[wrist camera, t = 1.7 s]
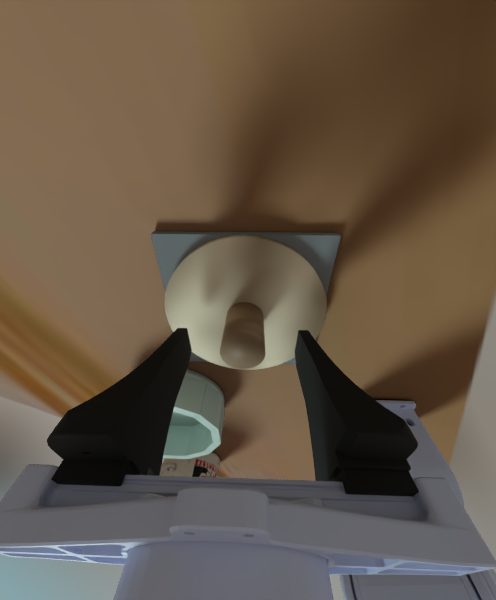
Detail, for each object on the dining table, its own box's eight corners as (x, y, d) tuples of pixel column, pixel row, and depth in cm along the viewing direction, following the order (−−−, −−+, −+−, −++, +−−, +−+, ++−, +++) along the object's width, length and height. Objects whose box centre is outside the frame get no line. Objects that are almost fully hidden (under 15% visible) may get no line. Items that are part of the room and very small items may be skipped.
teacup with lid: (232, 465, 35) (223, 583, 25) (185, 472, 37) (160, 583, 27) (192, 430, 29) (160, 568, 19) (139, 441, 31) (87, 570, 21)
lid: (340, 235, 13) (373, 264, 10) (310, 364, 20) (322, 410, 16) (150, 233, 14) (112, 260, 10) (182, 361, 20) (166, 405, 17)
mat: (338, 232, 14) (341, 235, 13) (308, 359, 20) (310, 364, 20) (154, 231, 14) (150, 233, 14) (184, 356, 21) (182, 361, 20)
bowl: (221, 367, 21) (215, 405, 18) (227, 423, 27) (223, 460, 24) (113, 364, 22) (87, 402, 18) (143, 421, 28) (127, 456, 24)
